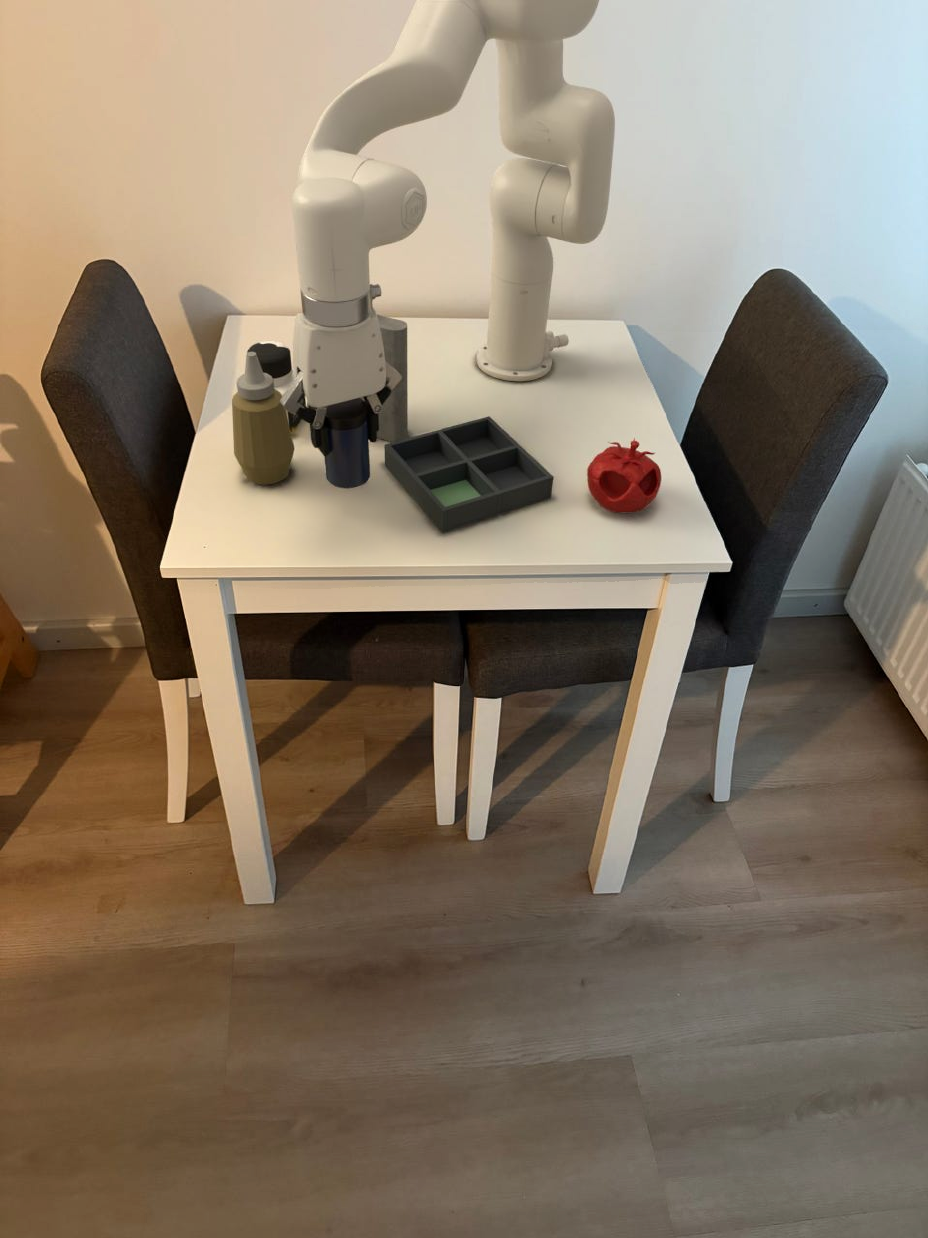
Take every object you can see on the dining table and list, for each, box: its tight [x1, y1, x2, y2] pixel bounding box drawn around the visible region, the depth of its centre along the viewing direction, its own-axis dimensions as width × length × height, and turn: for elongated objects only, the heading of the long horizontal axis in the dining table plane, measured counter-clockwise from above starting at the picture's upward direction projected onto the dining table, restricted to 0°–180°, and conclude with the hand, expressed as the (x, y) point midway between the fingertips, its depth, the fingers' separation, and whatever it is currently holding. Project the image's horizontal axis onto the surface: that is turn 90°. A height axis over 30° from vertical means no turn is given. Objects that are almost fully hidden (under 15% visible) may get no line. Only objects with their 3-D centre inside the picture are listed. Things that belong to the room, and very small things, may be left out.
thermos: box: [323, 398, 371, 490], centre depth 110 cm, size 6×6×10 cm
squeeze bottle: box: [231, 352, 295, 485], centre depth 118 cm, size 8×8×18 cm
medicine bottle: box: [246, 340, 307, 436], centre depth 129 cm, size 7×7×12 cm
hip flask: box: [360, 313, 409, 442], centre depth 127 cm, size 16×4×20 cm, turn 58°
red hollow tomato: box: [586, 437, 662, 514], centre depth 120 cm, size 10×10×9 cm
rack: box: [383, 415, 555, 534], centre depth 123 cm, size 17×17×4 cm
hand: (345, 442), depth 110 cm, fingers closed on thermos, 5 cm apart
